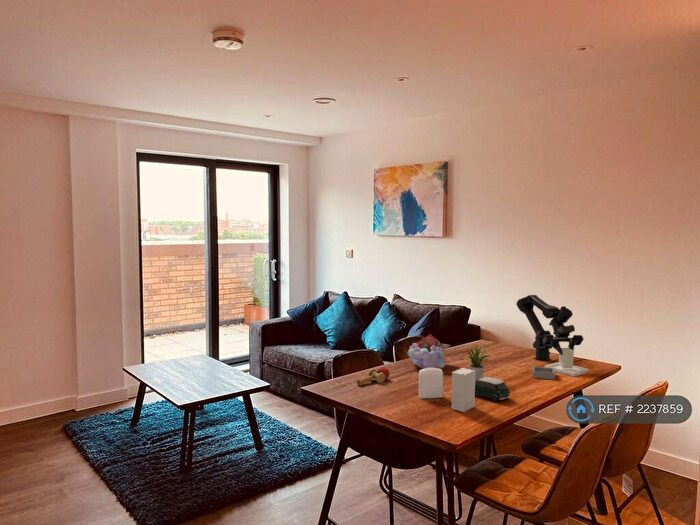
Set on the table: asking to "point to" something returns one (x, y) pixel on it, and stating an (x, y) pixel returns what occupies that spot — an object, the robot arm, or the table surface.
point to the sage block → (566, 358)
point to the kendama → (375, 376)
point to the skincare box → (463, 389)
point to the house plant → (477, 362)
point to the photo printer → (430, 383)
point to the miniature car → (492, 389)
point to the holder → (543, 373)
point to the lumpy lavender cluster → (428, 353)
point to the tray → (567, 370)
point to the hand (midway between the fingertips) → (567, 354)
